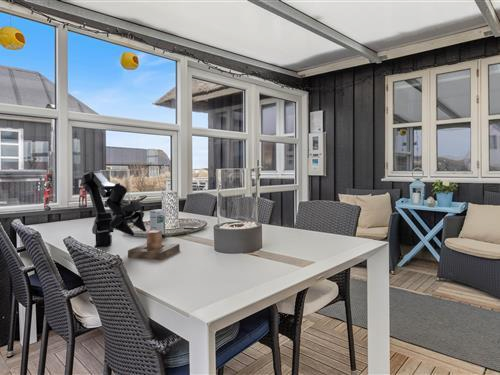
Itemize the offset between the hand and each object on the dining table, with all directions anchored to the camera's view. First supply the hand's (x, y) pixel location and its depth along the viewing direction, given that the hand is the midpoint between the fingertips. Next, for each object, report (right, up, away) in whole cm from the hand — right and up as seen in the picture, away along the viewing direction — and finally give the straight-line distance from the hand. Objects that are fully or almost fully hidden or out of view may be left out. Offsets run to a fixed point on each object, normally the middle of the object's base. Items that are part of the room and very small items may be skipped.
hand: (139, 233), depth 153 cm
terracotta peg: (+7, -9, -2) cm, 12 cm away
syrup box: (-2, -7, +36) cm, 37 cm away
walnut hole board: (+7, -9, -2) cm, 12 cm away
